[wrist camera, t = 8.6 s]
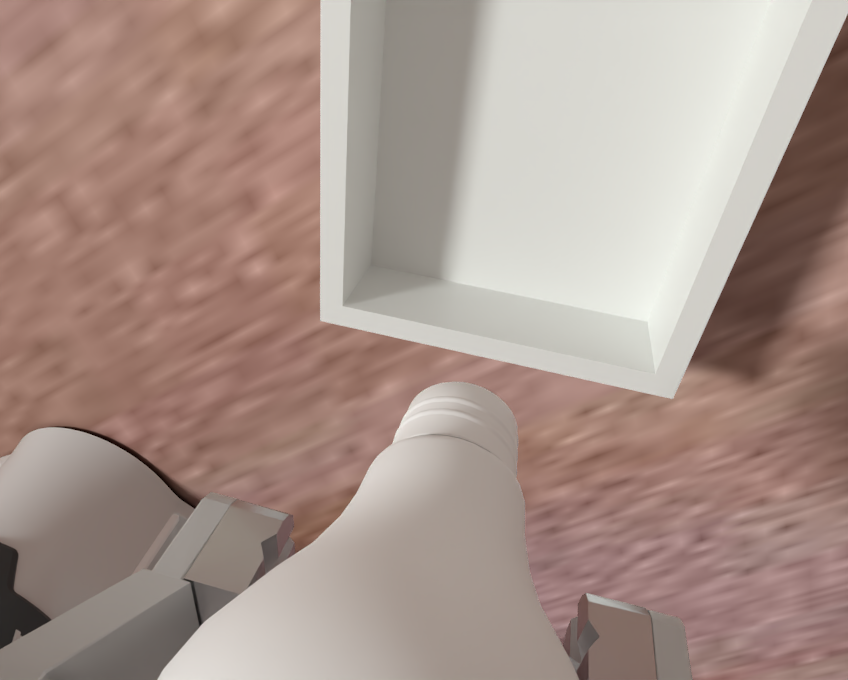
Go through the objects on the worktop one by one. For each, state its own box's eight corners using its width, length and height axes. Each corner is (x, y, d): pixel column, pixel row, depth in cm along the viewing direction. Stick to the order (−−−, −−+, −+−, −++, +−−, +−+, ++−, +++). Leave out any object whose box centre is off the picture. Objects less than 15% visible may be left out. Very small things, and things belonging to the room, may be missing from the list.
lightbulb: (352, 475, 16) (63, 1144, 7) (331, 274, 13) (-272, 1070, 4) (582, 513, 15) (587, 1364, 6) (626, 304, 12) (795, 1545, 3)
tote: (660, 333, 28) (672, 398, 24) (357, 270, 30) (320, 320, 26) (881, -213, 17) (973, -264, 13) (379, -255, 19) (320, -311, 15)
